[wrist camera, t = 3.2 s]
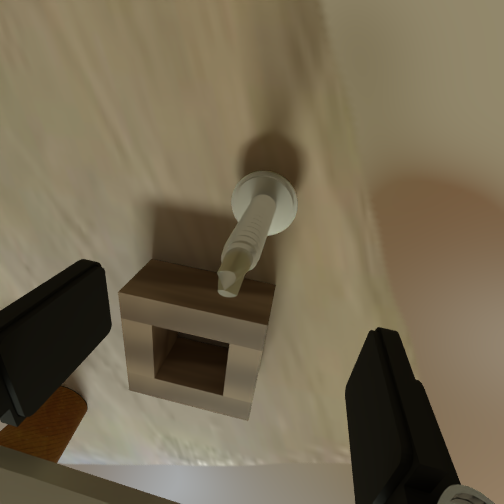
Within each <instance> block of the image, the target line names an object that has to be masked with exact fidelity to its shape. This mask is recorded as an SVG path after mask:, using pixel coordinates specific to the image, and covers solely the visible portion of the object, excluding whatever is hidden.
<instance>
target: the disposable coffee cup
mask: <svg viewBox="0 0 504 504" xmlns="http://www.w3.org/2000/svg"><path fill="white" fill-rule="evenodd" d="M86 412H87V405H86V402H85V401H84V400H83V398H82V397H81V396H80V395H78V394H77V393H75V392H74V391H72V390H70V389H68V388H65V387H61V386H60V387H59V388H58V389H57V390H56V391H55V392H54V393H53V394H52V395H51V396H50V397H49V399H48V400H47V401H46V402H45V403H44V404H43V405H42V406H41V407H40V408H39V409H38V410H37V412H36V413H34V414H33V415H32V416H30V417H26V418H25V420H24V421H23V422H22V423H21V424H20V425H19V426H18V427H15V426H12V425H9V424H8V425H7V426H6V427H5V428H3V429H2V430H1V431H0V445H1V446H4V447H7V448H10V449H13V450H16V451H19V452H23V453H26V454H29V455H32V456H35V457H38V458H41V459H44V460H48V461H51V462H54V463H57V462H58V460H59V459H60V457H61V455H62V453H63V452H64V450H65V448H66V446H67V445H68V443H69V441H70V440H71V438H72V436H73V434H74V432H75V431H76V429H77V427H78V426H79V424H80V422H81V420H82V418H83V417H84V415H85V413H86Z"/></svg>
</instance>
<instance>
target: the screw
mask: <svg viewBox="0 0 504 504" xmlns="http://www.w3.org/2000/svg"><path fill="white" fill-rule="evenodd" d="M231 205H232V211H233V213H234V216H235V218H236V219H237V221H238V223H237V225H236V227H235V228H234V230H233V232H232V233H231V235H230V237H229V238H228V240H227V242H226V244H225V246H224V248H223V252H222V255H221V262H222V264H221V266H220V268H219V270H218V272H217V274H218V276H219V279H218V293H219V294H220V295H222V296H224V297H235V296H237V295H238V292H239V289H240V287H241V284H242V282H243V279H244V276H245V274H246V273H247V272H248V271H250V270H252V269H253V268H254V267H255V266H256V264H257V262H258V261H259V259H260V256H261V253H262V250H263V247H264V244H265V241H266V238H267V236H269V235H274V234H277V233H280V232H282V231H283V230H285V229H286V228H287V227H288V226H289V225H290V224H291V223H292V221H293V220H294V218H295V216H296V212H297V206H298V200H297V194H296V192H295V190H294V187H293V186H292V185H291V183H290V182H289V181H288V180H287V179H286V178H285V177H284V176H282V175H280V174H278V173H276V172H273V171H268V170H260V171H255V172H252V173H250V174H248V175H246V176H245V177H243V178H242V179H241V180H240V181H239V183H238V184H237V185H236V187H235V189H234V191H233V194H232V201H231Z"/></svg>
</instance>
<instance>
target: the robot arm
mask: <svg viewBox="0 0 504 504" xmlns="http://www.w3.org/2000/svg"><path fill="white" fill-rule="evenodd" d="M111 326H112V323H111V315H110V307H109V300H108V292H107V284H106V276H105V270H104V268H102V267H101V264H100V263H98V262H94V261H90V260H86V259H81V260H79V261H77V262H76V263H74V264H73V265H71V266H69V267H68V268H66V269H65V270H63V271H62V272H60V273H59V274H57V275H55V276H54V277H52V278H51V279H49V280H48V281H46V282H44V283H43V284H41V285H40V286H38V287H37V288H35V289H34V290H32V291H30V292H29V293H27V294H26V295H24V296H23V297H21V298H20V299H18V300H16V301H15V302H13V303H12V304H10V305H9V306H7V307H5V308H4V309H2V310H1V311H0V420H1V422H3V423H6V424H9V425H12V426H15V427H18V426H19V425H20V424H21V423H22V422H23V421H24V420H25V418H26V417H30V416H32V415H33V414H34V413H36V412H37V410H38V409H39V408H40V407H41V406H42V405H43V404H44V403H45V402H46V401H47V400H48V399H49V397H50V396H51V395H52V394H53V393H54V392H55V391H56V390H57V389H58V388H59V387H60V386H61V384H62V383H63V382H64V381H65V380H66V379H67V378H68V377H69V376H70V375H71V374H72V373H73V371H74V370H75V369H76V368H77V367H78V366H79V365H80V364H81V363H82V362H83V361H84V360H85V359H86V357H87V356H88V355H89V354H90V353H91V352H92V351H93V350H94V349H95V348H96V347H97V346H98V344H99V343H100V342H101V341H102V340H103V339H104V338H105V337H106V336H107V335H108V333H109V332H110V330H111ZM345 400H346V410H347V421H348V431H349V441H350V452H351V462H352V473H353V483H354V493H355V504H495V503H494V502H492V501H491V500H490V499H489V498H487V497H486V496H485V495H483V494H482V493H480V492H479V491H476V490H475V489H473V488H470V487H468V486H464V485H461V483H460V481H459V478H458V476H457V473H456V470H455V468H454V465H453V463H452V460H451V457H450V455H449V452H448V449H447V447H446V444H445V441H444V439H443V436H442V434H441V431H440V428H439V426H438V423H437V421H436V418H435V415H434V413H433V410H432V407H431V405H430V402H429V399H428V397H427V394H426V392H425V389H424V387H423V385H422V383H421V382H420V381H419V380H415V377H414V374H413V372H412V369H411V366H410V363H409V361H408V358H407V355H406V352H405V349H404V347H403V344H402V341H401V338H400V336H399V333H398V332H397V331H393V330H389V329H385V328H380V327H378V328H377V329H376V330H375V331H373V330H370V331H369V333H368V336H367V338H366V340H365V343H364V345H363V347H362V350H361V352H360V354H359V357H358V359H357V361H356V364H355V366H354V368H353V371H352V373H351V376H350V378H349V380H348V383H347V385H346V390H345ZM0 504H180V503H177V502H174V501H170V500H167V499H165V498H161V497H158V496H155V495H152V494H149V493H146V492H143V491H140V490H137V489H134V488H131V487H128V486H125V485H122V484H119V483H116V482H112V481H109V480H106V479H103V478H100V477H97V476H94V475H91V474H88V473H85V472H81V471H78V470H75V469H72V468H69V467H66V466H63V465H60V464H57V463H54V462H51V461H48V460H44V459H41V458H38V457H35V456H32V455H29V454H26V453H23V452H19V451H16V450H13V449H10V448H7V447H4V446H1V445H0Z"/></svg>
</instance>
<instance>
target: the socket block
mask: <svg viewBox="0 0 504 504" xmlns="http://www.w3.org/2000/svg"><path fill="white" fill-rule="evenodd" d="M218 279H219V276H218V274H217V273H216V272H211V271H206V270H202V269H197V268H192V267H187V266H182V265H178V264H173V263H168V262H163V261H159V260H154V259H151V260H150V261H149V262H148V263H147V264H146V265H145V266H144V267H143V268H142V269H141V270H140V271H139V272H138V273H137V274H136V275H135V276H134V277H133V278H132V279H131V280H130V281H129V282H128V283H127V284H126V285H125V286H124V287H123V288H122V289H121V290H120V291H119V292H118V295H119V304H120V312H121V321H122V330H123V338H124V347H125V356H126V365H127V373H128V382H129V390H130V391H134V392H138V393H142V394H146V395H150V396H154V397H157V398H161V399H165V400H169V401H173V402H177V403H181V404H184V405H188V406H192V407H196V408H200V409H204V410H208V411H212V412H215V413H219V414H223V415H227V416H231V417H235V418H239V419H243V420H246V421H248V420H249V415H250V411H251V406H252V401H253V396H254V391H255V386H256V381H257V376H258V371H259V366H260V362H261V357H262V352H263V347H264V342H265V337H266V332H267V327H268V322H269V317H270V312H271V307H272V301H273V296H274V291H275V286H276V285H273V284H268V283H263V282H259V281H254V280H249V279H243V282H242V284H241V287H240V289H239V292H238V295H237V296H235V297H224V296H222V295H220V294H219V293H218ZM178 332H182V333H187V334H191V335H195V336H199V337H204V338H208V339H212V340H217V341H221V342H225V343H229V349H228V348H224V347H219V346H215V345H211V344H207V343H202V342H198V341H194V340H190V339H185V338H181V337H178Z"/></svg>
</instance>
